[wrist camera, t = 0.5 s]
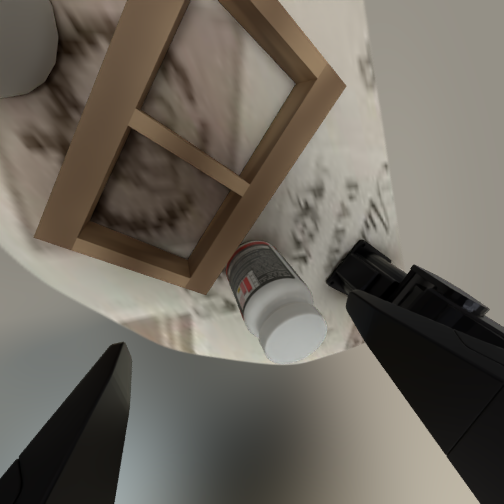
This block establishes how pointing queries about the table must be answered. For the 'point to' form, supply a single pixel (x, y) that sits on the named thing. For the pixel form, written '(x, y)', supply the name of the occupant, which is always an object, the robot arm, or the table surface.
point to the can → (26, 45)
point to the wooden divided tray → (182, 140)
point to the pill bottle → (275, 303)
